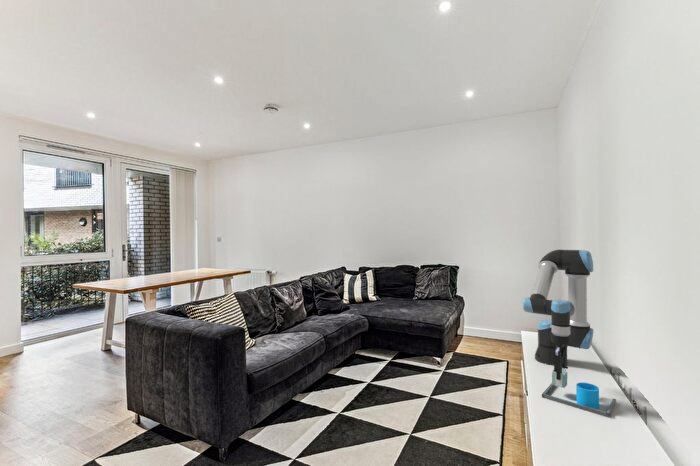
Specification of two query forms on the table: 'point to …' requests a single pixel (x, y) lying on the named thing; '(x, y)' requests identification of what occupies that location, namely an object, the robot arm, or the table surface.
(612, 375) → the table surface
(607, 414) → the tray frame
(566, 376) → the block
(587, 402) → the mug
